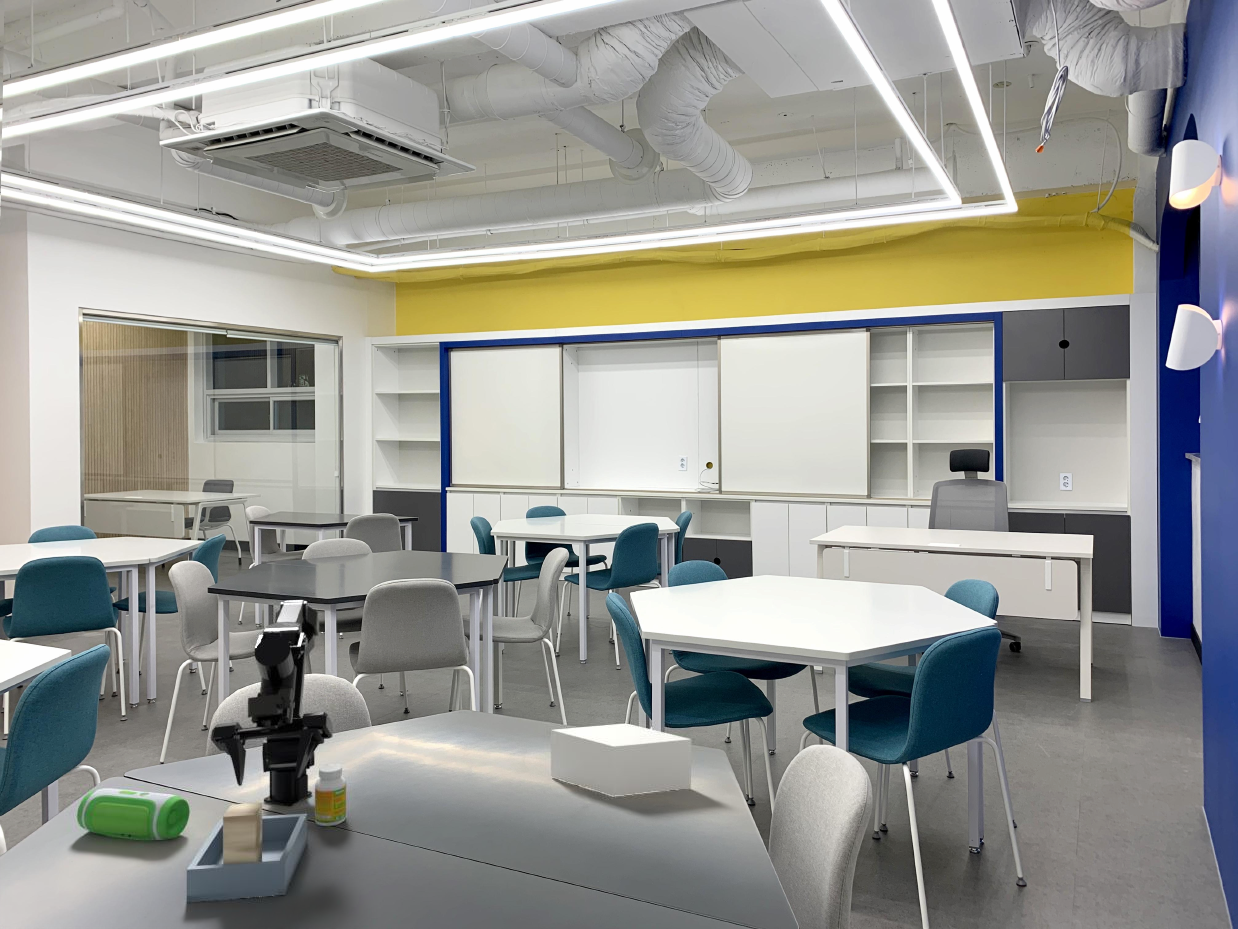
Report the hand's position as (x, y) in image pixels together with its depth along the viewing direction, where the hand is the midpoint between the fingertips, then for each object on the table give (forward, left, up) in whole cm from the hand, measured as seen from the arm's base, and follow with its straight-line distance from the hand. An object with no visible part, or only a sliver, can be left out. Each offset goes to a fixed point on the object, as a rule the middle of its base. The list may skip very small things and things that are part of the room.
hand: (268, 781), depth 144 cm
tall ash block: (+3, -9, -12) cm, 15 cm away
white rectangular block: (+43, +52, -13) cm, 69 cm away
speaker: (-29, -1, -13) cm, 32 cm away
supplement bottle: (0, +16, -13) cm, 21 cm away
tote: (0, -4, -13) cm, 14 cm away
